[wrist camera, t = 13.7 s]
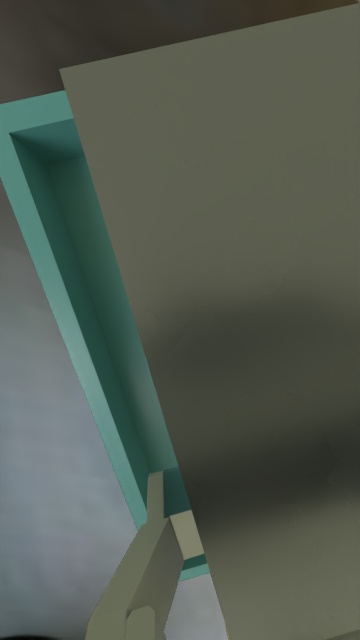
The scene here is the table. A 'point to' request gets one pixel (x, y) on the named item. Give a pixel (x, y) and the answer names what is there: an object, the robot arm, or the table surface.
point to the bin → (86, 290)
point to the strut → (247, 295)
